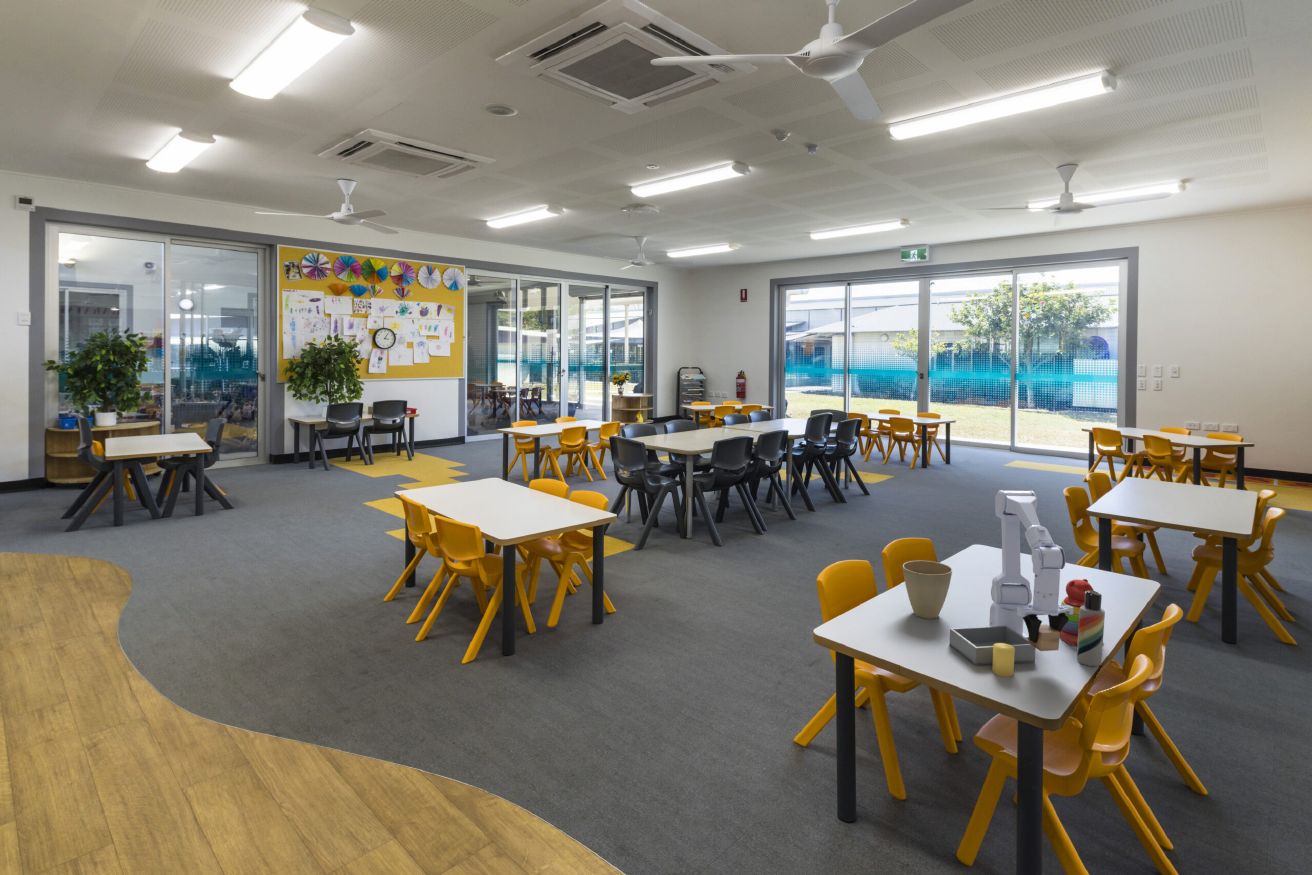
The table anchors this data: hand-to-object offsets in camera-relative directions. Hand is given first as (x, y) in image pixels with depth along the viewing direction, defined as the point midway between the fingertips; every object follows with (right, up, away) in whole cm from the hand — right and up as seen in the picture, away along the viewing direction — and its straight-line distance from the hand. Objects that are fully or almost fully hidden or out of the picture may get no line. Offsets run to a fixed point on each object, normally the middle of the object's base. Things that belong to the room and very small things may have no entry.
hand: (1043, 640), depth 177 cm
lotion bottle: (+15, -8, +5) cm, 18 cm away
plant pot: (-15, -4, +40) cm, 43 cm away
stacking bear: (+22, -6, +20) cm, 30 cm away
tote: (-8, -7, +11) cm, 16 cm away
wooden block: (0, -2, 0) cm, 2 cm away
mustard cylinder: (-11, -8, 0) cm, 14 cm away
